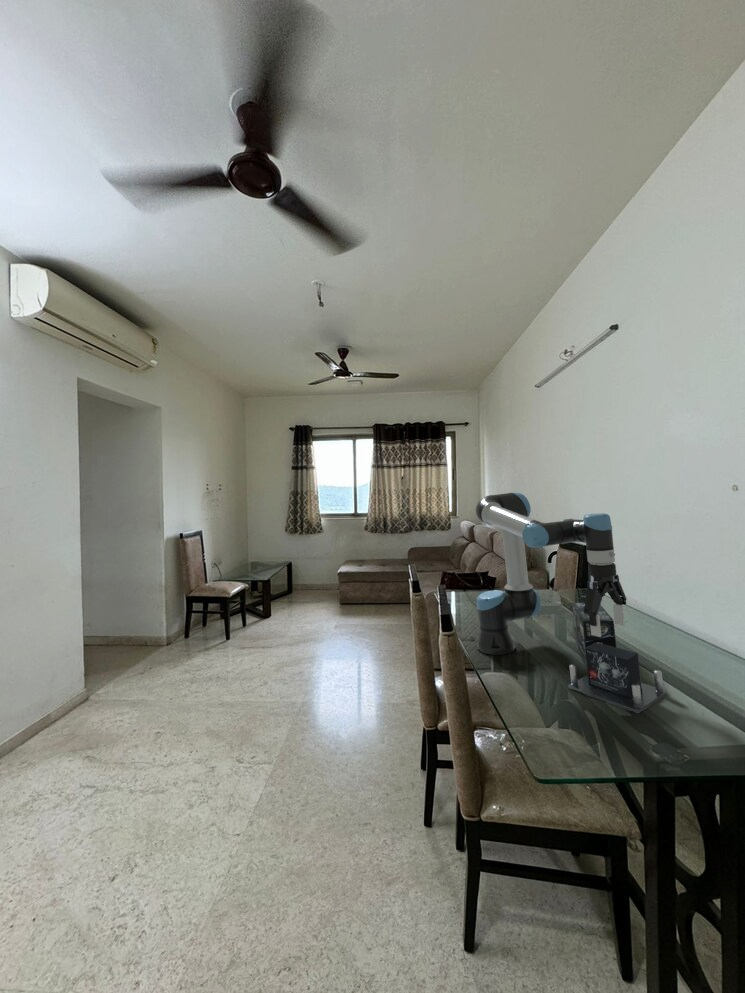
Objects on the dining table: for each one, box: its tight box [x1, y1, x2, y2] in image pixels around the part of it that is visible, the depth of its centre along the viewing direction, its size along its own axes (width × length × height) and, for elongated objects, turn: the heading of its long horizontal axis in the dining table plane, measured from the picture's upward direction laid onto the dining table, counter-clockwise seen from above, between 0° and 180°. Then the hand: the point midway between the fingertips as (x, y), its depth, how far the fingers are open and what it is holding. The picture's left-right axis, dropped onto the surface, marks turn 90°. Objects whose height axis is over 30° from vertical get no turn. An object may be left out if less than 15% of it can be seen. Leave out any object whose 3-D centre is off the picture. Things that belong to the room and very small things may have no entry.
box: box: [571, 602, 618, 672], centre depth 148 cm, size 23×10×19 cm, turn 162°
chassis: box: [568, 664, 668, 714], centre depth 124 cm, size 21×17×7 cm
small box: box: [585, 642, 642, 699], centre depth 124 cm, size 13×7×12 cm, turn 31°
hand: (608, 630), depth 125 cm, fingers open, 13 cm apart
